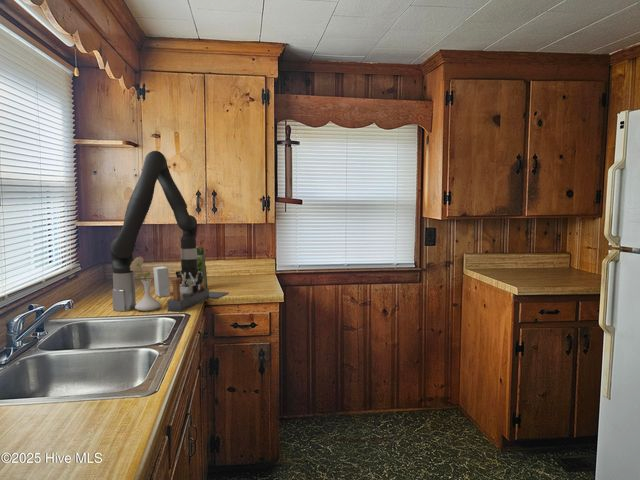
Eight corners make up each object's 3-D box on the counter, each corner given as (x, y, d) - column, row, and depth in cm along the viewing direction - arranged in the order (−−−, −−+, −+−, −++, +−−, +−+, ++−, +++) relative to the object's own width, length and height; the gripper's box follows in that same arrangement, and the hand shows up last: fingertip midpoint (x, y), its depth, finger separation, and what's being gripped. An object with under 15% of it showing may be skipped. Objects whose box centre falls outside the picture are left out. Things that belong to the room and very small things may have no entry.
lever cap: (189, 293, 222) (188, 284, 222) (179, 292, 224) (179, 284, 223) (200, 289, 232) (199, 280, 231) (191, 288, 233) (190, 280, 233)
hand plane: (180, 312, 214) (179, 280, 213) (167, 311, 216) (166, 279, 214) (209, 299, 239) (208, 270, 238) (197, 298, 241) (196, 270, 239)
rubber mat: (217, 298, 240) (217, 297, 240) (196, 297, 243) (196, 296, 243) (228, 293, 251) (228, 292, 251) (208, 292, 255) (208, 291, 255)
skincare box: (170, 296, 247) (169, 267, 245) (158, 297, 243) (157, 268, 242) (165, 293, 254) (164, 265, 252) (154, 294, 250) (152, 266, 249)
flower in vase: (152, 305, 227) (150, 253, 225) (166, 309, 220) (163, 255, 217) (126, 310, 217) (123, 256, 215) (139, 314, 210) (136, 258, 207)
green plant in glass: (207, 291, 258) (205, 245, 255) (184, 292, 255) (182, 245, 253) (207, 287, 269) (206, 242, 266) (185, 288, 266) (183, 243, 264)
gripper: (171, 258, 224) (172, 293, 226) (198, 259, 220) (199, 295, 222) (180, 256, 232) (181, 290, 233) (206, 256, 228) (207, 292, 229)
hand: (190, 292), depth 228 cm, fingers closed on lever cap, 5 cm apart
